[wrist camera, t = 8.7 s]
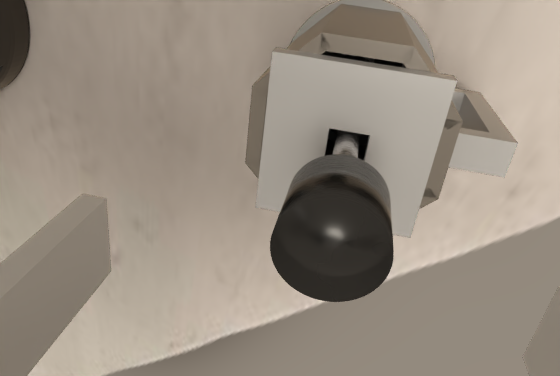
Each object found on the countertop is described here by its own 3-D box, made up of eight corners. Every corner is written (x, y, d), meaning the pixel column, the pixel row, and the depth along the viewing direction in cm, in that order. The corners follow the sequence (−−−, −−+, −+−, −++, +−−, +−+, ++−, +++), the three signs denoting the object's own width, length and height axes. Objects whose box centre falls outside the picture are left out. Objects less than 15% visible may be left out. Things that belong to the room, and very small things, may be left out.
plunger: (294, 132, 35) (212, 315, 17) (309, 27, 32) (225, 123, 14) (396, 150, 34) (418, 361, 17) (423, 44, 31) (487, 170, 13)
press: (278, 130, 41) (225, 226, 26) (295, -14, 35) (241, 9, 21) (446, 160, 39) (486, 279, 25) (491, 14, 34) (575, 60, 20)
